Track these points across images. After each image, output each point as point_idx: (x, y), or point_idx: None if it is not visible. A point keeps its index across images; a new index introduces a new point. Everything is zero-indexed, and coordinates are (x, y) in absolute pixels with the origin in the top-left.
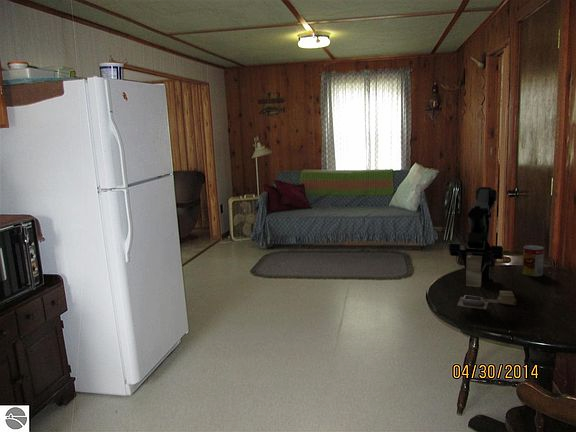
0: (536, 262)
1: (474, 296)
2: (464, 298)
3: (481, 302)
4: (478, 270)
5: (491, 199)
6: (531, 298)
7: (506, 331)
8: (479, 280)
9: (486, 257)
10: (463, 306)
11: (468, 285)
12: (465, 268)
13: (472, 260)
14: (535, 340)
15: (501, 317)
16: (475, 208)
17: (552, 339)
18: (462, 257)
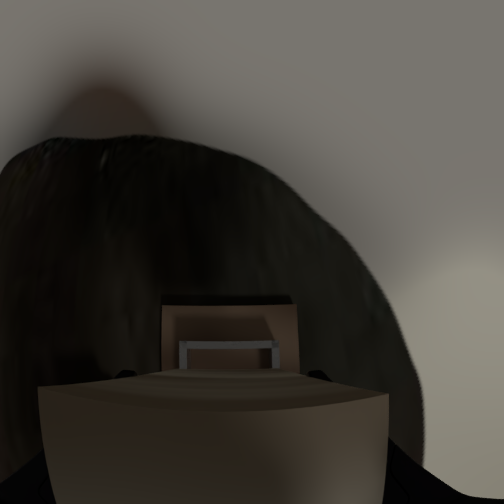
0: None
1: None
2: (272, 353)
3: (183, 341)
4: (161, 379)
5: None
6: None
7: (110, 155)
8: (174, 371)
9: (10, 493)
10: (265, 305)
11: (260, 369)
12: (321, 375)
13: (234, 399)
14: (59, 139)
15: (108, 260)
16: None
17: (26, 162)
18: (433, 478)
